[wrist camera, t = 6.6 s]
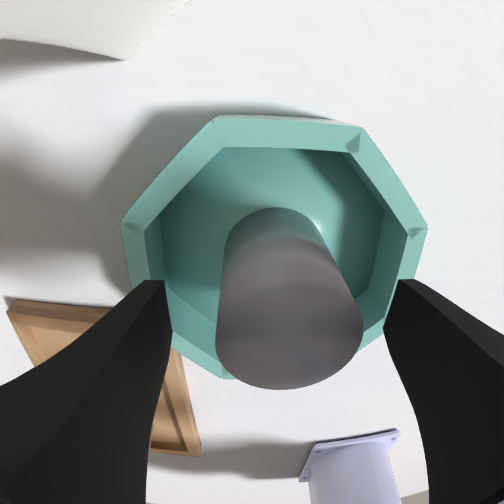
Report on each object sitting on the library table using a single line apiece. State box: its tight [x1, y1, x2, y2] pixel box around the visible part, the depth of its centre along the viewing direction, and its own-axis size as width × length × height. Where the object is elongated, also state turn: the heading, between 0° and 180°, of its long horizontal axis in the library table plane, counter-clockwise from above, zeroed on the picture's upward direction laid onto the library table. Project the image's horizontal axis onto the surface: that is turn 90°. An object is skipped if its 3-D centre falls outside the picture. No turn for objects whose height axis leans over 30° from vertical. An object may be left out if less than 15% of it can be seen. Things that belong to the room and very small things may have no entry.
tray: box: [6, 300, 201, 457], centre depth 17 cm, size 14×10×1 cm
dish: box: [119, 115, 428, 379], centre depth 12 cm, size 10×10×3 cm
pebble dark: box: [215, 207, 364, 390], centre depth 10 cm, size 4×4×5 cm
